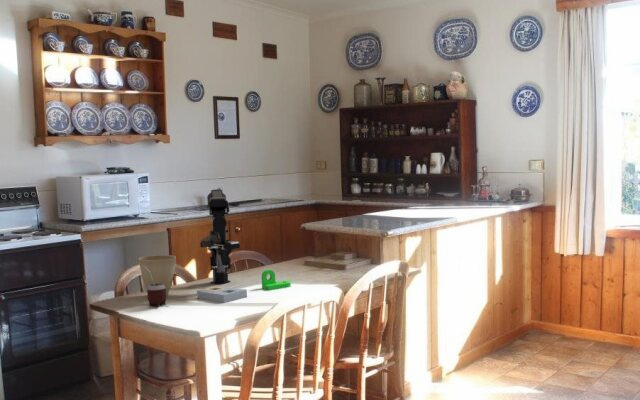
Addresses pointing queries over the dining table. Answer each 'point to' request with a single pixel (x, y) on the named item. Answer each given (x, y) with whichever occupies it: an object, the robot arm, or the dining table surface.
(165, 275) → the plant pot
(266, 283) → the mechanical part
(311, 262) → the dining table surface
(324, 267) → the dining table surface
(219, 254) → the pin
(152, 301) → the mate gourd
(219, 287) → the socket board
